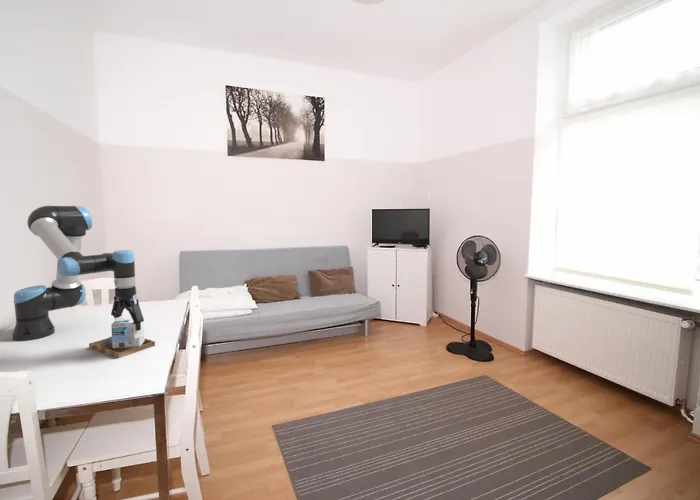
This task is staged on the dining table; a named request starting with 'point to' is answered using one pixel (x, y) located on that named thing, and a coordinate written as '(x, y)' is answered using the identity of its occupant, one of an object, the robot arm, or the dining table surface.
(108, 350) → the wooden divided tray
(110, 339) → the grey smooth rounded part
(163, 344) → the dining table surface
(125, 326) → the light bulb box
